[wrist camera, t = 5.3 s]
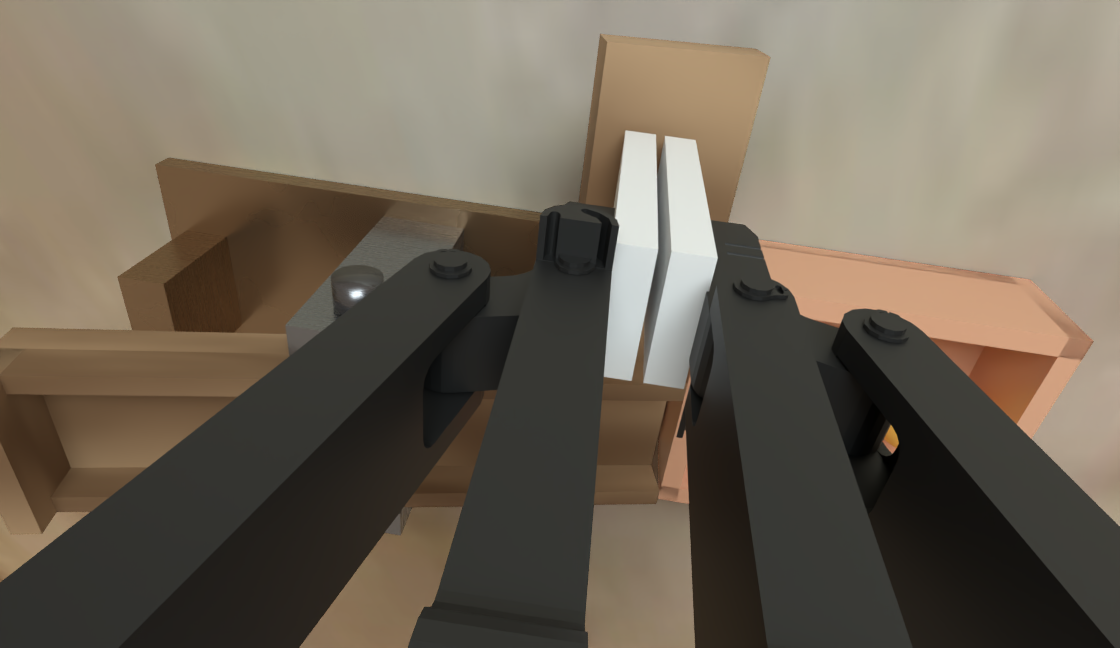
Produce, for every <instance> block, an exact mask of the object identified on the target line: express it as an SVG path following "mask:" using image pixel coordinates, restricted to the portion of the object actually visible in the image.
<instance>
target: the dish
mask: <svg viewBox="0 0 1120 648" xmlns="http://www.w3.org/2000/svg"><path fill="white" fill-rule="evenodd" d="M759 243H760V246H761V250H762V252H763V255H764V259H765V261H766V265H767V268H768V271H769V274H770V277H771V279H772V280H775V281H777V282H779V283H781V284H782V285H783V286H785V287H786V288H788V289H789V290H790V292H791V293H792V294H793V296H794V297H795V300H796V303H797V306H798V309H799V312H800V315H802V316H805V317H807V318H810V319H813V320H815V321H818V322H822V323H825V324H828V325H831V326H834V327H837V328H839V326H840V324H841V321H842V319H843V316H844V314H845V313H847V312H849V311H851V310H853V309H864V308H866V309H873V310H877V309H880V310H885V311H887V313H889V312H892V313H894V314H897V315H899V316H900V317H901V318H903V319H905V320H907V321H909V322H911V323H912V324H914V325H915V326H916V327H918V328H919V329H920V330H922V331H923V332H924V333H925V334H926V335H927V336H928V337H929V338H930V339H931V340H932V341H933V342H934V343H935V344H936V345H937V346H938V347H939V348H940V349H941V350H942V351H943V352H944V353H945V354H946V355H947V356H948V357H949V358H950V359H951V360H952V361H953V362H954V363H955V364H956V365H957V366H958V367H959V368H960V369H961V370H962V371H963V372H964V373H965V374H966V375H967V376H968V377H969V378H970V379H971V380H972V381H973V382H974V383H975V384H976V385H977V386H978V387H979V388H980V389H981V390H982V391H983V392H984V393H985V394H986V395H987V396H988V397H989V398H990V399H991V400H993V401H994V402H995V403H996V404H997V405H998V406H999V407H1000V408H1001V409H1002V410H1003V411H1004V412H1005V413H1006V414H1007V415H1008V416H1009V417H1010V418H1011V419H1012V420H1013V421H1014V422H1015V423H1016V424H1017V425H1018V426H1019V427H1020V428H1021V429H1022V430H1023V431H1024V432H1025V433H1026V434H1027V435H1028V436H1029V437H1030V438H1031V439H1032V437H1033V436H1034V434H1035V432H1036V431H1037V429H1038V428H1039V426H1040V425H1041V423H1042V422H1043V420H1044V418H1045V417H1046V415H1047V414H1048V412H1049V411H1050V409H1051V407H1052V406H1053V404H1054V403H1055V401H1056V400H1057V398H1058V396H1059V395H1060V393H1061V392H1062V390H1063V389H1064V387H1065V386H1066V384H1067V382H1068V381H1069V379H1070V378H1071V376H1072V375H1073V373H1074V371H1075V370H1076V368H1077V367H1078V365H1079V364H1080V362H1081V360H1082V359H1083V357H1084V356H1085V354H1086V353H1087V351H1088V350H1089V348H1090V346H1091V345H1092V343H1093V342H1094V341H1093V340H1092V339H1091V338H1090V337H1088V336H1087V335H1086V334H1085V333H1084V332H1083V331H1082V330H1081V329H1080V328H1079V327H1078V326H1077V325H1076V324H1075V323H1074V322H1073V321H1072V320H1071V319H1070V318H1069V317H1068V316H1067V315H1066V314H1065V313H1064V312H1063V311H1062V310H1061V309H1060V308H1059V307H1058V306H1057V305H1056V304H1055V303H1054V302H1053V301H1052V300H1051V299H1050V298H1049V297H1048V296H1047V295H1046V294H1045V293H1044V292H1043V291H1042V290H1041V289H1040V288H1038V287H1037V286H1036V285H1035V284H1034V283H1033V282H1032V281H1031V280H1029V279H1023V278H1016V277H1009V276H1002V275H995V274H989V273H982V272H975V271H968V270H961V269H955V268H948V267H941V266H934V265H928V264H921V263H914V262H907V261H900V260H894V259H887V258H880V257H873V256H866V255H860V254H853V253H846V252H839V251H832V250H826V249H819V248H812V247H805V246H799V245H792V244H785V243H778V242H771V241H765V240H759ZM690 383H691V377H690V367H689V371H688V375H687V379H686V385H687V387H686V391H685V395H684V398H683V401H667V402H666V406H665V410H664V414H663V419H662V423H661V427H660V431H659V435H658V488H659V495H658V499H663V500H669V501H675V502H681V503H687V504H689V492H688V469H687V446H686V430H685V432H684V435H683V438H678V437H676V436H677V432H678V428H679V425H680V421H681V417H682V413H683V410H684V406H685V402H686V398H687V394H688V391H689V387H690ZM883 443H884V444H885V446H886V447H887V448H888V450H889V451H890V452H891V453H892V454H893V452H894V451H895V450H896V448H895V447H894V446H892V445H891V444H889V443H888V442H887V441H886V440H885V439H884V440H883Z"/></svg>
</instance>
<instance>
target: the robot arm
mask: <svg viewBox="0 0 1120 648" xmlns="http://www.w3.org/2000/svg"><path fill="white" fill-rule="evenodd" d="M643 322H644V366H643V383H647V384H654V385H660V386H667V387H673V388H680V389H684V386H685V383H686V379H687V375H688V371H689V367H690V377H691V383H690V387H689V391H688V394H687V398H686V402H685V406H684V410H683V413H682V417H681V421H680V425H679V428H678V432H677V436H676V437H678V438H683V435H684V432H685V430H686V446H687V469H688V492H689V515H690V538H691V561H692V584H693V607H694V630H695V648H1120V527H1119V526H1118V525H1117V524H1116V523H1115V522H1114V521H1113V520H1112V519H1111V518H1110V517H1109V516H1108V515H1107V514H1106V513H1105V512H1104V511H1103V510H1102V509H1101V508H1100V507H1099V506H1098V505H1097V504H1096V503H1095V502H1094V501H1093V500H1092V499H1091V498H1090V497H1089V496H1088V495H1087V494H1086V493H1085V492H1084V491H1083V490H1082V489H1081V488H1080V487H1079V486H1078V485H1077V484H1076V483H1075V482H1074V481H1073V480H1072V479H1071V478H1070V477H1069V476H1068V475H1067V474H1066V473H1065V472H1064V471H1063V470H1062V469H1061V468H1060V467H1059V466H1058V465H1057V464H1056V463H1055V462H1054V461H1053V460H1052V459H1051V458H1050V457H1049V456H1048V455H1047V454H1046V453H1045V452H1044V451H1043V450H1042V449H1041V448H1040V447H1039V446H1038V445H1037V444H1036V443H1035V442H1034V441H1033V440H1032V439H1031V438H1030V437H1029V436H1028V435H1027V434H1026V433H1025V432H1024V431H1023V430H1022V429H1021V428H1020V427H1019V426H1018V425H1017V424H1016V423H1015V422H1014V421H1013V420H1012V419H1011V418H1010V417H1009V416H1008V415H1007V414H1006V413H1005V412H1004V411H1003V410H1002V409H1001V408H1000V407H999V406H998V405H997V404H996V403H995V402H994V401H993V400H991V399H990V398H989V397H988V396H987V395H986V394H985V393H984V392H983V391H982V390H981V389H980V388H979V387H978V386H977V385H976V384H975V383H974V382H973V381H972V380H971V379H970V378H969V377H968V376H967V375H966V374H965V373H964V372H963V371H962V370H961V369H960V368H959V367H958V366H957V365H956V364H955V363H954V362H953V361H952V360H951V359H950V358H949V357H948V356H947V355H946V354H945V353H944V352H943V351H942V350H941V349H940V348H939V347H938V346H937V345H936V344H935V343H934V342H933V341H932V340H931V339H930V338H929V337H928V336H927V335H926V334H925V333H924V332H923V331H922V330H920V329H919V328H918V327H916V326H915V325H914V324H912V323H911V322H909V321H907V320H905V319H903V318H901V317H900V316H899V315H897V314H894V313H892V312H889V313H887V311H885V310H880V309H877V310H873V309H866V308H864V309H853V310H851V311H849V312H847V313H845V314H844V316H843V319H842V321H841V324H840V326H839V328H837V327H834V326H831V325H828V324H825V323H822V322H818V321H815V320H813V319H810V318H807V317H805V316H802V315H800V312H799V309H798V306H797V303H796V300H795V297H794V296H793V294H792V293H791V292H790V290H789V289H788V288H786V287H785V286H783V285H782V284H781V283H779V282H777V281H775V280H772V279H771V277H770V274H769V271H768V268H767V265H766V261H765V259H764V255H763V252H762V250H761V246H760V243H759V240H758V237H757V236H756V235H755V234H754V233H753V232H752V231H751V230H750V229H749V228H747V227H746V226H745V225H742V224H735V223H728V222H721V221H714V220H710V214H709V209H708V204H707V198H706V193H705V188H704V182H703V177H702V172H701V166H700V161H699V156H698V150H697V145H696V140H692V139H685V138H677V137H670V136H665V138H664V143H663V149H662V154H661V159H660V164H659V170H658V175H657V158H656V134H649V133H641V132H634V131H627V130H626V131H625V137H624V143H623V150H622V156H621V162H620V169H619V175H618V181H617V188H616V194H615V200H614V207H613V208H611V207H604V206H597V205H590V204H583V203H576V202H568V203H567V204H565V205H559V206H553V207H551V208H548V209H545V210H544V211H543V212H542V214H541V215H540V221H539V232H538V242H537V253H536V261H535V264H534V267H533V270H531V271H529V272H526V273H523V274H518V275H513V276H495V277H491V270H490V267H489V264H488V263H487V262H486V261H485V260H484V259H483V258H481V257H480V256H477V255H474V254H472V253H469V252H464V251H459V250H458V249H449V250H447V249H439V250H436V251H432V252H427V253H424V254H422V255H420V256H418V257H416V258H414V259H413V260H412V261H410V262H409V263H408V264H407V265H405V266H404V267H403V268H402V269H400V270H399V271H398V272H396V273H395V274H394V275H393V276H391V277H390V278H389V279H387V280H386V281H385V282H384V283H382V284H381V285H380V286H379V287H377V288H376V289H375V290H373V291H372V292H371V293H370V294H368V295H367V296H366V297H364V298H363V299H362V300H361V301H359V302H358V303H357V304H356V305H354V306H353V307H352V308H350V309H349V310H348V311H347V312H345V313H344V314H343V315H342V316H340V317H339V318H338V319H336V320H335V321H334V322H333V323H331V324H330V325H329V326H327V327H326V328H325V329H324V330H322V331H321V332H320V333H319V334H317V335H316V336H315V337H313V338H312V339H311V340H310V341H308V342H307V343H306V344H304V345H303V346H302V347H301V348H299V349H298V350H297V351H296V352H294V353H293V354H292V355H290V356H289V357H288V358H287V359H285V360H284V361H283V362H281V363H280V364H279V365H278V366H276V367H275V368H274V369H273V370H271V371H270V372H269V373H267V374H266V375H265V376H264V377H262V378H261V379H260V380H258V381H257V382H256V383H255V384H253V385H252V386H251V387H250V388H248V389H247V390H246V391H244V392H243V393H242V394H241V395H239V396H238V397H237V398H235V399H234V400H233V401H232V402H230V403H229V404H228V405H227V406H225V407H224V408H223V409H221V410H220V411H219V412H218V413H216V414H215V415H214V416H212V417H211V418H210V419H209V420H207V421H206V422H205V423H204V424H202V425H201V426H200V427H198V428H197V429H196V430H195V431H193V432H192V433H191V434H189V435H188V436H187V437H186V438H184V439H183V440H182V441H181V442H179V443H178V444H177V445H175V446H174V447H173V448H172V449H170V450H169V451H168V452H166V453H165V454H164V455H163V456H161V457H160V458H159V459H158V460H156V461H155V462H154V463H152V464H151V465H150V466H149V467H147V468H146V469H145V470H143V471H142V472H141V473H140V474H138V475H137V476H136V477H135V478H133V479H132V480H131V481H129V482H128V483H127V484H126V485H124V486H123V487H122V488H120V489H119V490H118V491H117V492H115V493H114V494H113V495H112V496H110V497H109V498H108V499H106V500H105V501H104V502H103V503H101V504H100V505H99V506H98V507H96V508H95V509H94V510H92V511H91V512H90V513H89V514H87V515H86V516H85V517H83V518H82V519H81V520H80V521H78V522H77V523H76V524H75V525H73V526H72V527H71V528H69V529H68V530H67V531H66V532H64V533H63V534H62V535H60V536H59V537H58V538H57V539H55V540H54V541H53V542H52V543H50V544H49V545H48V546H46V547H45V548H44V549H43V550H41V551H40V552H39V553H37V554H36V555H35V556H34V557H32V558H31V559H30V560H29V561H27V562H26V563H25V564H23V565H22V566H21V567H20V568H18V569H17V570H16V571H14V572H13V573H12V574H11V575H9V576H8V577H7V578H6V579H4V580H3V581H2V582H0V648H299V647H300V646H301V644H302V643H303V642H304V640H305V639H306V637H307V636H308V635H309V633H310V632H311V631H312V629H313V628H314V627H315V625H316V624H317V623H318V621H319V620H320V619H321V617H322V616H323V615H324V613H325V612H326V611H327V609H328V608H329V607H330V605H331V604H332V603H333V601H334V600H335V599H336V597H337V596H338V595H339V593H340V592H341V591H342V589H343V588H344V587H345V585H346V584H347V583H348V581H349V580H350V579H351V577H352V576H353V574H354V573H355V572H356V570H357V569H358V568H359V566H360V565H361V564H362V562H363V561H364V560H365V558H366V557H367V556H368V554H369V553H370V552H371V550H372V549H373V548H374V546H375V545H376V544H377V542H378V541H379V540H380V538H381V537H382V536H383V534H384V533H385V532H386V530H387V529H388V528H389V526H390V525H391V524H392V522H393V521H394V520H395V518H396V517H397V516H398V514H399V513H400V511H401V510H402V509H403V507H404V506H405V505H406V503H407V502H408V501H409V499H410V498H411V497H412V495H413V494H414V493H415V491H416V490H417V489H418V487H419V486H420V485H421V483H422V482H423V481H424V479H425V478H426V477H427V475H428V474H429V473H430V471H431V470H432V469H433V467H434V466H435V465H436V463H437V462H438V461H439V459H440V458H441V457H442V455H443V454H444V453H445V451H446V450H447V448H448V447H449V446H450V444H451V443H452V442H453V440H454V439H455V438H456V436H457V435H458V434H459V432H460V431H461V430H462V428H463V427H464V426H465V424H466V423H467V422H468V420H469V419H470V418H471V416H472V415H473V414H474V412H475V411H476V410H477V408H478V407H479V406H480V404H481V402H482V399H483V397H484V391H490V390H497V393H496V396H495V400H494V403H493V406H492V410H491V413H490V416H489V420H488V423H487V427H486V430H485V433H484V437H483V440H482V444H481V447H480V450H479V454H478V457H477V460H476V464H475V467H474V471H473V474H472V477H471V481H470V484H469V488H468V491H467V494H466V498H465V501H464V505H463V508H462V511H461V515H460V518H459V521H458V525H457V528H456V532H455V535H454V538H453V542H452V545H451V549H450V552H449V555H448V559H447V562H446V565H445V569H444V572H443V576H442V579H441V582H440V586H439V589H438V592H437V595H436V598H435V601H434V603H433V604H432V606H431V607H424V609H423V610H422V612H421V614H420V616H419V617H418V620H417V623H416V626H415V628H414V631H413V634H412V637H411V639H410V642H409V646H408V648H588V632H585V611H586V598H587V585H588V572H589V559H590V547H591V534H592V521H593V508H594V495H595V482H596V470H597V457H598V444H599V431H600V418H601V405H602V393H603V380H604V377H609V378H615V379H622V380H628V381H632V376H633V371H634V366H635V362H636V357H637V352H638V347H639V342H640V337H641V332H642V327H643ZM890 425H891V426H892V427H893V429H894V431H895V432H896V434H897V437H898V442H899V444H898V446H897V448H896V450H895V451H894V452H893V454H892V453H891V452H890V451H889V450H888V448H887V447H886V446H885V444H884V443H883V440H884V438H885V436H886V434H887V432H888V430H889V428H890Z"/></svg>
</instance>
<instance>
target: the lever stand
mask: <svg viewBox="0 0 1120 648" xmlns="http://www.w3.org/2000/svg"><path fill="white" fill-rule="evenodd" d="M155 166H156V170H157V175H158V179H159V184H160V188H161V193H162V197H163V202H164V206H165V211H166V215H167V220H168V224H169V229H170V233H171V237H172V241H170V242H169V243H167V244H166V245H164V246H163V247H161V248H160V249H158V250H157V251H155V252H154V253H152V254H151V255H149V256H148V257H146V258H145V259H143V260H142V261H140V262H139V263H137V264H136V265H135V266H133V267H132V268H130V269H129V270H127V271H126V272H124V273H123V274H121V275H120V276H118V281H119V284H120V288H121V291H122V295H123V298H124V302H125V306H126V309H127V313H128V316H129V320H130V323H131V327H132V330H136V331H177V332H219V333H261V334H286V335H287V342H288V350H289V356H290V355H292V354H293V353H294V352H296V351H297V350H298V349H299V348H301V347H302V346H303V345H304V344H306V343H307V342H308V341H310V340H311V339H312V338H313V337H315V336H316V335H317V334H319V333H320V332H321V331H322V330H324V329H325V328H326V327H327V326H329V325H330V324H331V323H333V322H334V321H335V320H336V319H338V318H339V317H340V316H342V315H343V314H344V313H345V312H347V311H348V310H349V309H350V308H352V307H353V306H354V305H356V304H357V303H358V302H359V301H361V300H362V299H363V298H364V297H366V296H367V295H368V294H370V293H371V292H372V291H373V290H375V289H376V288H377V287H379V286H380V285H381V284H382V283H384V282H385V281H386V280H387V279H389V278H390V277H391V276H393V275H394V274H395V273H396V272H398V271H399V270H400V269H402V268H403V267H404V266H405V265H407V264H408V263H409V262H410V261H412V260H413V259H414V258H416V257H418V256H420V255H422V254H424V253H427V252H432V251H436V250H439V249H447V250H449V249H458V250H459V251H464V252H469V253H472V254H474V255H477V256H480V257H481V258H483V259H484V260H485V261H486V262H487V263H488V264H489V267H490V270H491V277H495V276H513V275H518V274H523V273H526V272H529V271H531V270H533V267H534V264H535V261H536V253H537V242H538V232H539V221H540V215H541V214H542V213H539V212H532V211H526V210H519V209H512V208H505V207H499V206H492V205H485V204H478V203H471V202H465V201H458V200H451V199H444V198H438V197H431V196H424V195H417V194H411V193H404V192H397V191H390V190H383V189H377V188H370V187H363V186H356V185H350V184H343V183H336V182H329V181H323V180H316V179H309V178H302V177H295V176H289V175H282V174H275V173H268V172H262V171H255V170H248V169H241V168H234V167H228V166H221V165H214V164H207V163H201V162H194V161H187V160H180V159H174V158H167V159H165V160H163V161H161V162H159V163H157V164H155ZM411 509H412V507H403V509H402V510H401V511H400V513H399V514H398V516H397V517H396V518H395V520H394V521H393V522H392V524H391V525H390V526H389V528H388V529H387V530H386V532H385V533H390V534H396V535H401V533H402V531H403V528H404V526H405V524H406V521H407V519H408V516H409V514H410V511H411Z"/></svg>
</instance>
